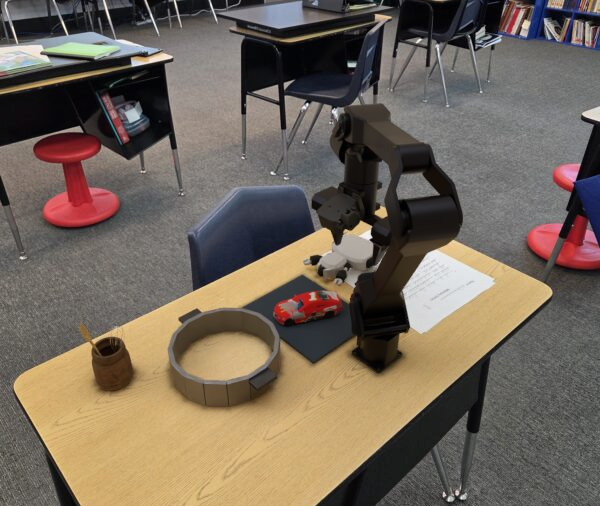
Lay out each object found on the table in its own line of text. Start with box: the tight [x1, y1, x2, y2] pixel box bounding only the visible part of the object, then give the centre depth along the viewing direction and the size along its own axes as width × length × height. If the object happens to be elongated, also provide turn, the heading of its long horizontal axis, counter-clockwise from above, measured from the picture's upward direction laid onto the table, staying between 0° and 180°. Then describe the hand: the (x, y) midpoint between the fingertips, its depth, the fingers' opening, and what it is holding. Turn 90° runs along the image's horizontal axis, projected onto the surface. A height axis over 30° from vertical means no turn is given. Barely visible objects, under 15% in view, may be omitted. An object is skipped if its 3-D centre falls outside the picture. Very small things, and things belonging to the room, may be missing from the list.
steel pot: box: [167, 307, 281, 408], centre depth 91 cm, size 22×18×5 cm
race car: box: [273, 290, 342, 326], centre depth 102 cm, size 13×5×4 cm, turn 105°
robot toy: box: [302, 229, 385, 286], centre depth 116 cm, size 12×4×15 cm
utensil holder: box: [78, 321, 134, 391], centre depth 87 cm, size 6×6×12 cm
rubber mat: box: [241, 274, 356, 364], centre depth 103 cm, size 20×16×1 cm
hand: (356, 254), depth 100 cm, fingers open, 9 cm apart
